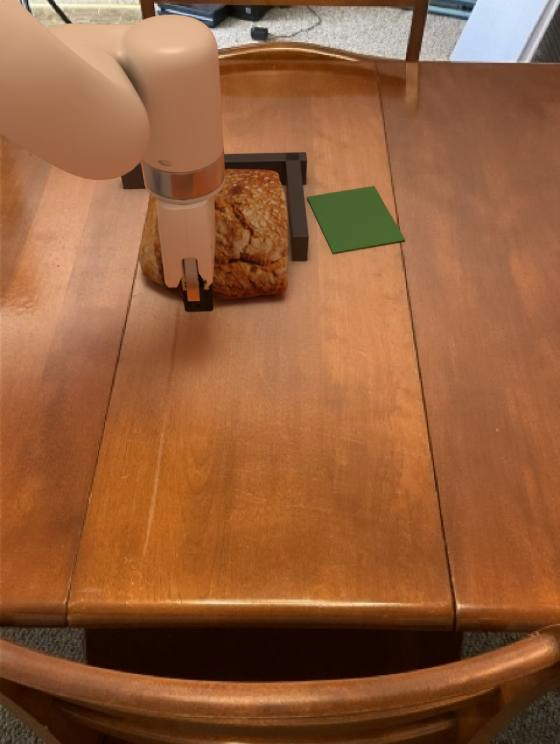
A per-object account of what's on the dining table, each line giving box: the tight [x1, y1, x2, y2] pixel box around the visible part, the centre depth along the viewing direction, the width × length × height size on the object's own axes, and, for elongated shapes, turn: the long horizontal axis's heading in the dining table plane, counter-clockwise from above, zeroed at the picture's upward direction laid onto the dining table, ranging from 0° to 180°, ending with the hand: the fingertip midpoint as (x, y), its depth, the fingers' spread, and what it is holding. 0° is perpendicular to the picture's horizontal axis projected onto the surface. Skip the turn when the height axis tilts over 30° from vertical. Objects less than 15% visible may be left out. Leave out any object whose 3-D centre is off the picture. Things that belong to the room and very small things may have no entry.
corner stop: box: [120, 151, 310, 262], centre depth 91 cm, size 26×18×4 cm
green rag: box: [306, 185, 406, 255], centre depth 92 cm, size 10×12×1 cm
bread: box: [137, 169, 289, 300], centre depth 85 cm, size 20×18×10 cm
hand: (199, 306), depth 76 cm, fingers closed
